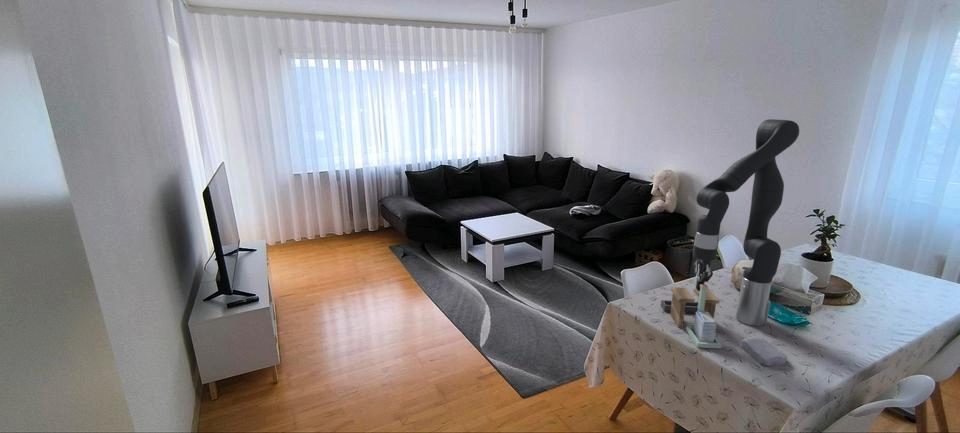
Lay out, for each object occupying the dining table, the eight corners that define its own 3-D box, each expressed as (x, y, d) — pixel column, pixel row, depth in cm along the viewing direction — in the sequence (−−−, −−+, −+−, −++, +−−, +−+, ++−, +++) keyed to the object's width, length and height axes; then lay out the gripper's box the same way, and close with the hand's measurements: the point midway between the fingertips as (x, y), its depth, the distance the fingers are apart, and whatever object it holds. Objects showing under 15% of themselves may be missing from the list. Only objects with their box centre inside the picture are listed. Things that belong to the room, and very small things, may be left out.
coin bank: (747, 277, 206) (753, 252, 201) (773, 297, 190) (780, 270, 185) (716, 279, 205) (721, 254, 200) (739, 299, 189) (746, 272, 184)
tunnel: (704, 316, 170) (708, 288, 167) (714, 329, 160) (719, 300, 157) (667, 314, 171) (670, 287, 168) (675, 327, 162) (679, 298, 159)
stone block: (762, 350, 151) (736, 346, 149) (767, 338, 149) (742, 334, 148) (788, 371, 139) (761, 368, 138) (794, 359, 138) (767, 355, 137)
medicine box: (713, 345, 150) (717, 322, 148) (700, 344, 150) (703, 321, 148) (705, 333, 158) (708, 311, 155) (692, 332, 158) (695, 310, 156)
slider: (707, 330, 159) (714, 284, 154) (721, 348, 147) (729, 300, 143) (685, 328, 160) (691, 283, 155) (697, 347, 148) (704, 298, 143)
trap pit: (699, 307, 177) (699, 302, 176) (703, 313, 172) (704, 307, 171) (660, 305, 178) (661, 300, 178) (664, 311, 174) (664, 305, 173)
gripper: (725, 251, 147) (717, 298, 151) (709, 239, 159) (703, 282, 164) (701, 250, 147) (695, 297, 152) (688, 238, 160) (682, 282, 165)
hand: (699, 289), depth 158 cm, fingers closed
